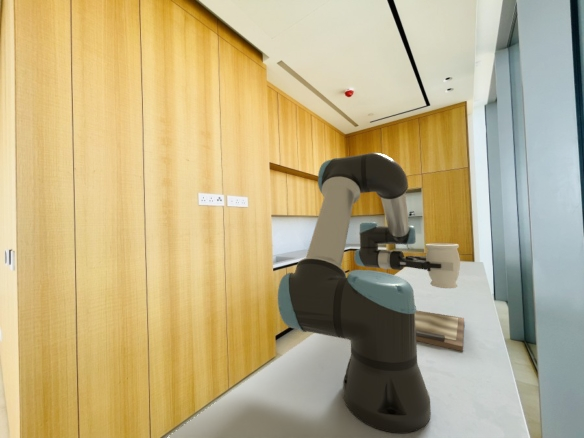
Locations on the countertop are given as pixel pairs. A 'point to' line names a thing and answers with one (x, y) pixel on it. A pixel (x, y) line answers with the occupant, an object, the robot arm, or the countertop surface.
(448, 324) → the clipboard
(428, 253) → the jar
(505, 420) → the countertop surface
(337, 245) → the robot arm
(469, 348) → the countertop surface
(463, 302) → the countertop surface
